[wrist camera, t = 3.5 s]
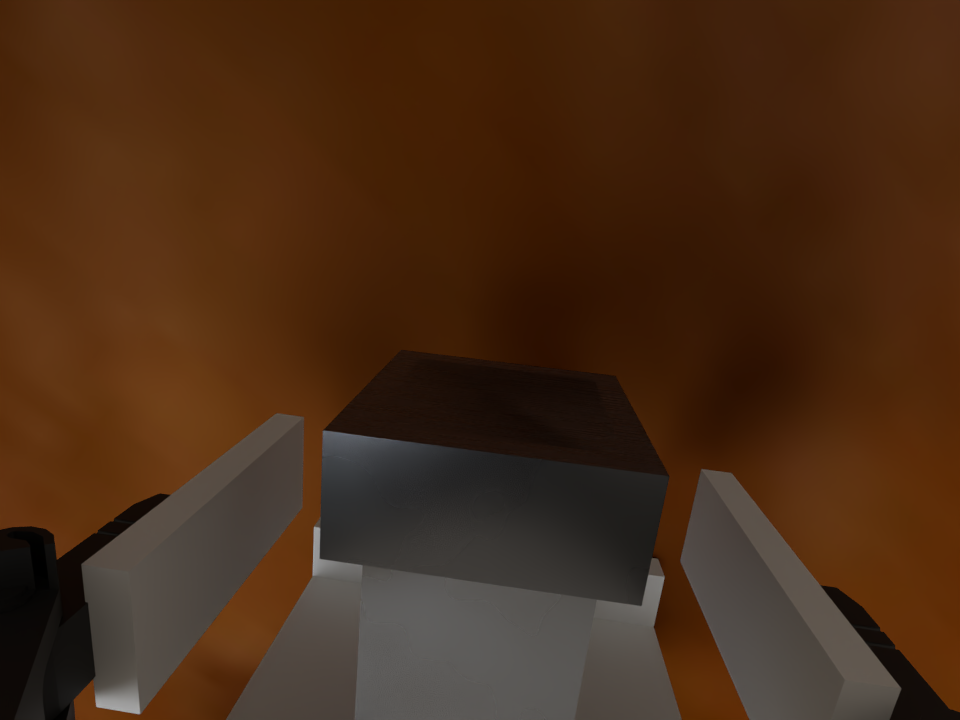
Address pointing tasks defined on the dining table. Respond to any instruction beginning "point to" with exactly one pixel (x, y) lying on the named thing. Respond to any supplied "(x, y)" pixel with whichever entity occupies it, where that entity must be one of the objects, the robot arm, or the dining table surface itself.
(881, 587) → the dining table surface
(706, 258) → the dining table surface
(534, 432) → the shaft
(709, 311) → the dining table surface
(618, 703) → the bracket
